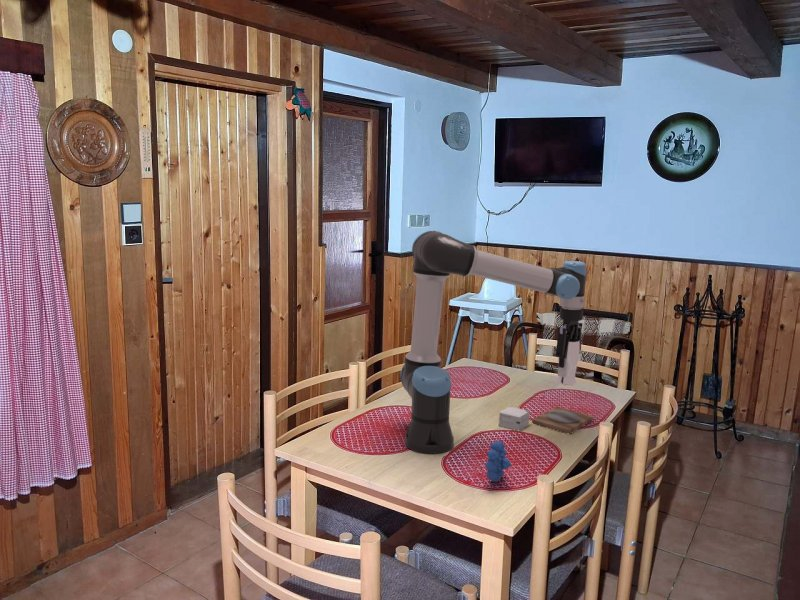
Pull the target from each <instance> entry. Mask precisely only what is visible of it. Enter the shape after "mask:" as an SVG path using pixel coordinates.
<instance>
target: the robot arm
mask: <svg viewBox="0 0 800 600" xmlns="http://www.w3.org/2000/svg"><path fill="white" fill-rule="evenodd" d="M411 253H412V254H411V255H412V257H413V259H414V260H413V267H412V268H413V269H412V270H413V271H412V273H413V274H414V276H415V277H416V287H415V288H416V290H415V299H414V300H415V301H414V310H413V320H412V321H413V322H412V332H411V342H410V351H409V352H407V353H406V354H405V358H404V364H403V365H402V367H401V369H400V382H401V384H402V387H403V388H404V390H405V391H406V393H408V395H409V397H410V398H411V414H410V415H411V416H410V417H411V419H410V422H409V424H408V428H407V429H406V433H405V435H404V445H405V447H407V448H408V449H410V450H412V451H414V452H418V453H422V454H440V453H446V452H448V451H451V450H452V449H453V448H454V445H455V439H454V436H453V432H452V427H451V424H450V410H451V409H450V408H451V407H450V405H451V390H452V380H451V378H452V377H451V375H450V373H449V371H448V370H446V369H444V368H443V367H442V368H441V363H442V359H441V357H440V355H439V354H438V347H439V336H440V328H441V327H440V326H441V316H442V307H443V297H444V286H445V285H444V284H445V280H447V279H448V278H450V274H452V275H457V276H462V277H468V276H469V275H470V276H471V275H472V276H476V277H480V278H483V279H488V280H492V281H496V282H500V283H504V284H508V285H512V286H516V287H519V288H524V289H527V290H530V291H534V292H535V291H537V292H540V293H543V294H548V295H551V296H555V297H558V298H559V299H560V304H559V306H560V309H559V319H561V320H562V321H563V322H562V324H561V325H562V326H561V327H560V326H558V327H557V339H556V340H557V341H556V349H555V357H556V358H558V357H559V361H558V368H557V377H559V376H561V377H566V372H567V358H566V356H567V351H568V344H569V342H576V339H578V340H580V352H579V355H580V354H581V353H582V330H583V323H582V322H580V321H582V320H583V317H584V309H583V308H584V307H585V306H584V305H585V304H584V303H585V302H586V300H585V293H586V292H585V291H586V279H587V264H586V263H585V262H584V261H579V260H578V261H577V260H565V261H564V262H563V263H562V267H543V266H539V265H537V264H536V265H535V264H532V263H527V262H525V261H520V260H517V259H514V258H513V259H512V258H509V257H505V256H501V255H499V254H494V253H490V252H487V251H483V250H478V249H477V248H476V246H475V245H473V244H469V243H466V242H464V241H461V240H459V239H456V238H454V237H452V236H451V235H450V234H449V235H448V234H446V233H442V232H441V231H436V230H428V231H427V230H426V231H423V232H422V233H420V234H418V236H416V238H415V239H414V240H413V242H412V247H411ZM576 373H577V370H576V371H575V374H576Z"/></svg>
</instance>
